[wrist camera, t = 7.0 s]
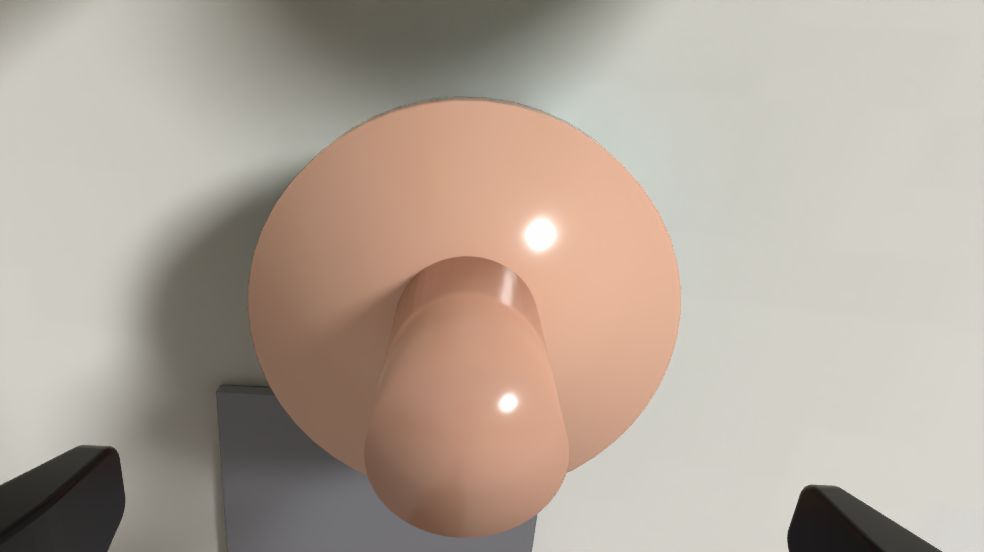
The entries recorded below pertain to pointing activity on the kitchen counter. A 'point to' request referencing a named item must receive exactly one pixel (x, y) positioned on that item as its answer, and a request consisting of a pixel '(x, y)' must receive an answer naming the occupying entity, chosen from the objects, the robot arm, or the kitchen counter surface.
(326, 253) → the lid
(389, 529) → the mat
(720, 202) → the kitchen counter surface
